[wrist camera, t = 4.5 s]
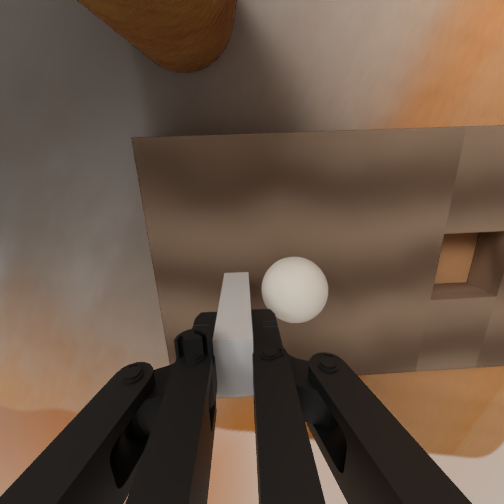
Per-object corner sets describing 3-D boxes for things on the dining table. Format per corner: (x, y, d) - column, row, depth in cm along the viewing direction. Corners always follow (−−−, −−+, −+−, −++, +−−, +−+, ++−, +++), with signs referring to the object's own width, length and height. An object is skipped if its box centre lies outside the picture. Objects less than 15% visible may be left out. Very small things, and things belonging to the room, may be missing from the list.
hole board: (147, 142, 16) (131, 137, 14) (581, 127, 17) (636, 120, 15) (181, 363, 22) (173, 387, 19) (508, 343, 23) (539, 363, 20)
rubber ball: (258, 249, 16) (263, 273, 13) (318, 246, 16) (341, 269, 13) (259, 303, 18) (265, 339, 14) (315, 300, 18) (336, 335, 14)
